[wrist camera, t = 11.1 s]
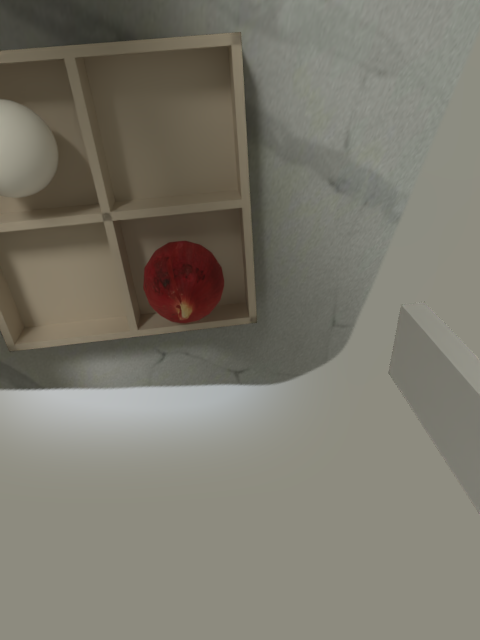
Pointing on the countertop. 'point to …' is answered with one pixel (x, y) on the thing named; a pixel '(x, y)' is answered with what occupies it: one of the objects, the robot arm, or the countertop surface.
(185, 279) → the onion
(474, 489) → the robot arm
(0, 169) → the ceramic egg
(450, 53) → the countertop surface
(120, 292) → the wooden tray
